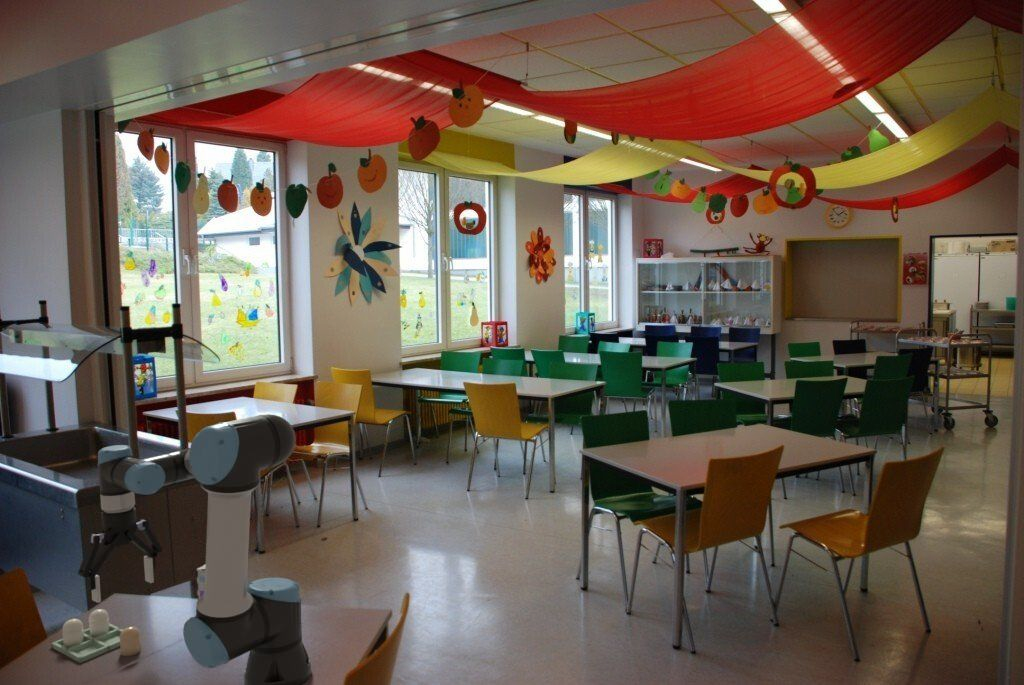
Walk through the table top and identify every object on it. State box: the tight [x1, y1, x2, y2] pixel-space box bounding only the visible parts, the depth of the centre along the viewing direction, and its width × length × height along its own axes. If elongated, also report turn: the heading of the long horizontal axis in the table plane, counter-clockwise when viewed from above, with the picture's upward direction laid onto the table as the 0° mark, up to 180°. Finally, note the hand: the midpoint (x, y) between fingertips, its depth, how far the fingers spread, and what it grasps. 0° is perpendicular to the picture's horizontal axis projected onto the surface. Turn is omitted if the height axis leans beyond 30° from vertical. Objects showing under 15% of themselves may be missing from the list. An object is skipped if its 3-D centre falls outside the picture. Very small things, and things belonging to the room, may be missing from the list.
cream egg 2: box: [88, 608, 110, 638], centre depth 204 cm, size 5×5×7 cm
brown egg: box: [119, 626, 142, 657], centre depth 195 cm, size 5×5×7 cm
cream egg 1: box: [61, 618, 84, 649], centre depth 198 cm, size 5×5×7 cm
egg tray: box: [50, 622, 124, 664], centre depth 199 cm, size 14×14×2 cm
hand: (123, 591), depth 194 cm, fingers open, 13 cm apart
